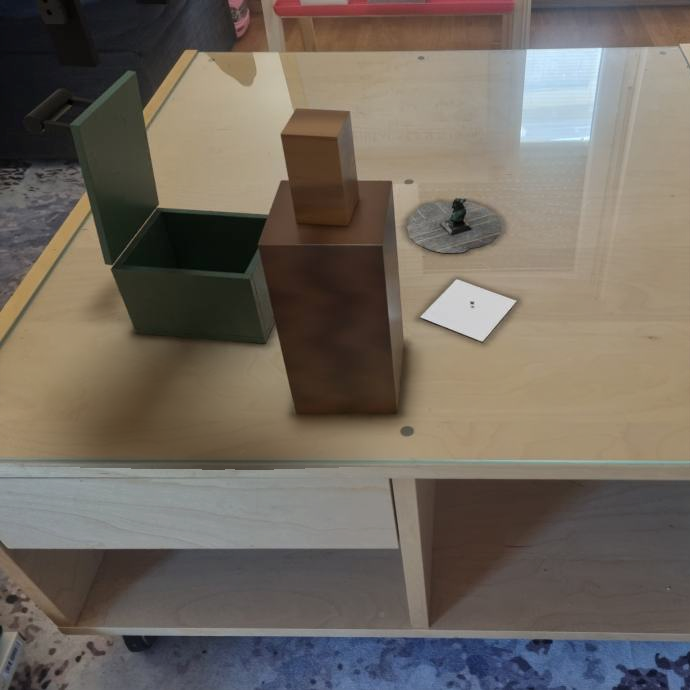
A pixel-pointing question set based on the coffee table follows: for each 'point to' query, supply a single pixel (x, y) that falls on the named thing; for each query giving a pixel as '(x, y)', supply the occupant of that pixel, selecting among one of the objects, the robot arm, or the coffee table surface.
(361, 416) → the coffee table surface
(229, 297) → the green box
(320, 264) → the plinth
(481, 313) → the coaster
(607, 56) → the coffee table surface
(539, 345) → the coffee table surface
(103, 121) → the box lid
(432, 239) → the sculpture
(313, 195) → the block
